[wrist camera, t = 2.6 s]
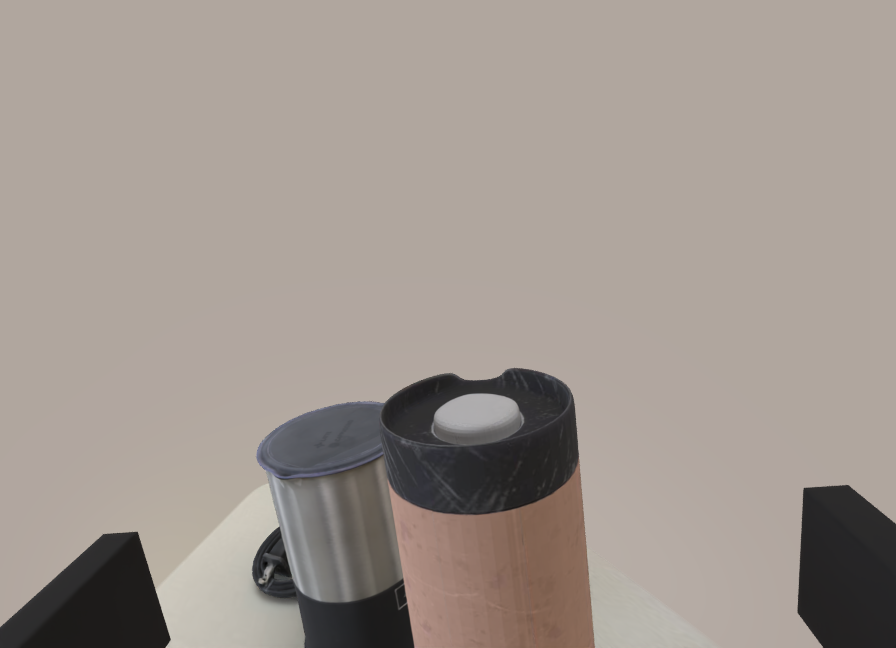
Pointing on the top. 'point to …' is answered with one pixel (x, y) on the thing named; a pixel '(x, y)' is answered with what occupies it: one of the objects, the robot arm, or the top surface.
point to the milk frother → (334, 529)
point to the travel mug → (489, 511)
